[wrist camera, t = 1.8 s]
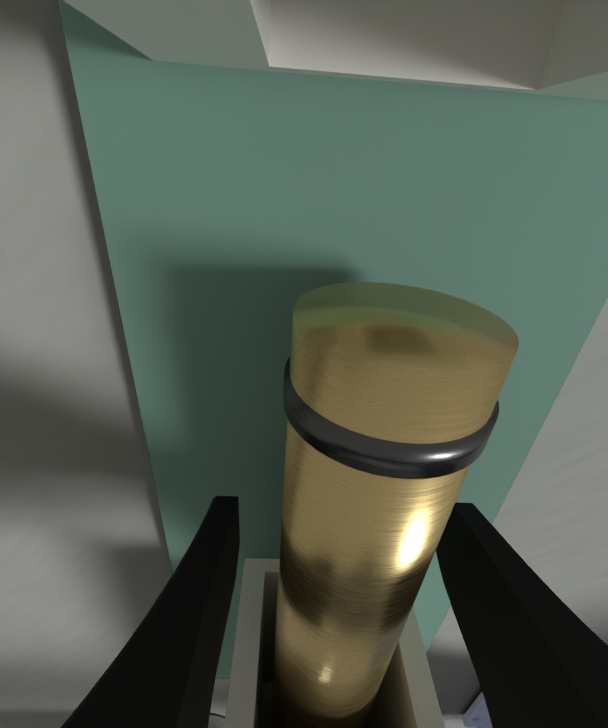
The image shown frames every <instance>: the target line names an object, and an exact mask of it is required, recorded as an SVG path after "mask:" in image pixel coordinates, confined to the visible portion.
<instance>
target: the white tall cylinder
mask: <svg viewBox="0 0 608 728" xmlns="http://www.w3.org/2000/svg"><path fill="white" fill-rule="evenodd" d="M224 724H225V718H224V717H221V716H217V715H212V714H210V716H209V723H208V728H224Z"/></svg>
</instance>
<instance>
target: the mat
mask: <svg viewBox="0 0 608 728" xmlns="http://www.w3.org/2000/svg"><path fill="white" fill-rule="evenodd" d="M57 2H58V7H59V12H60V17H61V22H62V27H63V32H64V37H65V42H66V47H67V52H68V57H69V61H70V66H71V71H72V76H73V81H74V86H75V91H76V96H77V101H78V106H79V111H80V116H81V121H82V126H83V131H84V136H85V141H86V146H87V151H88V156H89V161H90V165H91V170H92V175H93V180H94V185H95V190H96V195H97V200H98V205H99V210H100V215H101V220H102V225H103V230H104V235H105V240H106V245H107V250H108V255H109V260H110V265H111V270H112V274H113V279H114V284H115V289H116V294H117V299H118V304H119V309H120V314H121V319H122V324H123V329H124V334H125V339H126V344H127V349H128V354H129V359H130V364H131V369H132V374H133V378H134V383H135V388H136V393H137V398H138V403H139V408H140V413H141V418H142V423H143V428H144V433H145V438H146V443H147V448H148V453H149V458H150V463H151V468H152V473H153V478H154V482H155V487H156V492H157V497H158V502H159V507H160V512H161V517H162V522H163V527H164V532H165V537H166V542H167V547H168V552H169V557H170V562H171V567H172V572H173V573H174V572H175V570H176V568H177V567H178V565H179V563H180V561H181V560H182V558H183V556H184V555H185V553H186V551H187V549H188V548H189V546H190V544H191V542H192V541H193V539H194V537H195V535H196V533H197V531H198V529H199V527H200V525H201V523H202V521H203V519H204V517H205V515H206V513H207V511H208V509H209V507H210V504H211V502H212V499H213V498H214V497H216V496H238V500H239V527H240V546H239V555H238V564H237V572H236V580H235V585H234V590H233V595H232V600H231V605H230V610H229V615H228V619H227V624H226V629H225V634H224V639H223V643H222V648H221V653H220V658H219V663H218V667H217V672H216V677H215V679H230V675H231V667H232V659H233V651H234V643H235V635H236V627H237V619H238V611H239V603H240V595H241V587H242V579H243V571H244V563H245V558H260V559H280V541H281V523H282V504H283V486H284V467H285V449H286V430H287V416H286V414H285V410H284V407H283V386H284V369H285V364H286V362H287V360H288V358H289V357H290V355H291V338H292V319H293V307H294V304H295V302H296V300H297V299H298V298H299V297H300V296H301V295H303V294H304V293H306V292H308V291H310V290H312V289H315V288H318V287H322V286H326V285H332V284H338V283H349V282H379V283H391V284H400V285H407V286H413V287H418V288H424V289H428V290H432V291H437V292H440V293H444V294H448V295H451V296H454V297H457V298H460V299H463V300H466V301H468V302H471V303H473V304H475V305H478V306H480V307H482V308H484V309H486V310H488V311H490V312H492V313H493V314H495V315H497V316H498V317H500V318H501V319H502V320H504V321H505V322H506V323H507V324H508V325H510V326H511V328H512V329H513V330H514V331H515V332H516V334H517V337H518V339H519V347H518V351H517V353H516V356H515V358H514V361H513V363H512V365H511V368H510V370H509V373H508V375H507V378H506V380H505V383H504V385H503V387H502V390H501V392H500V395H499V397H498V401H499V414H498V418H497V421H496V423H495V425H494V428H493V430H492V433H491V435H490V437H489V440H488V442H487V444H486V447H485V449H484V450H483V452H482V454H481V455H480V456H479V457H478V458H477V459H476V460H475V461H474V462H473V463H472V464H471V465H470V468H469V470H468V473H467V475H466V478H465V480H464V482H463V485H462V487H461V490H460V492H459V495H458V497H457V499H456V502H458V503H473V504H474V505H475V506H476V507H477V509H478V510H479V511H480V512H481V513H482V514H483V515H484V516H485V518H486V519H487V520H488V521H489V522H490V523H491V524H492V523H493V521H494V519H495V517H496V515H497V513H498V511H499V509H500V507H501V505H502V503H503V502H504V500H505V498H506V496H507V494H508V492H509V490H510V488H511V486H512V484H513V482H514V480H515V478H516V476H517V474H518V472H519V470H520V468H521V466H522V464H523V462H524V460H525V458H526V456H527V454H528V452H529V450H530V448H531V446H532V445H533V443H534V441H535V439H536V437H537V435H538V433H539V431H540V429H541V427H542V425H543V423H544V421H545V419H546V417H547V415H548V413H549V411H550V409H551V407H552V405H553V403H554V401H555V399H556V397H557V395H558V393H559V391H560V389H561V388H562V386H563V384H564V382H565V380H566V378H567V376H568V374H569V372H570V370H571V368H572V366H573V364H574V362H575V360H576V358H577V356H578V354H579V352H580V350H581V348H582V346H583V344H584V342H585V340H586V338H587V336H588V334H589V333H590V331H591V329H592V327H593V325H594V323H595V321H596V319H597V317H598V315H599V313H600V311H601V309H602V307H603V305H604V303H605V301H606V299H607V297H608V101H604V100H593V99H582V98H570V97H559V96H547V95H536V94H525V93H513V92H502V91H491V90H479V89H468V88H457V87H445V86H434V85H423V84H411V83H400V82H388V81H377V80H366V79H354V78H343V77H332V76H320V75H309V74H298V73H286V72H275V71H264V70H252V69H241V68H229V67H218V66H207V65H195V64H184V63H173V62H161V61H153V60H152V59H150V58H149V57H147V56H146V55H144V54H143V53H141V52H140V51H138V50H137V49H135V48H134V47H132V46H131V45H129V44H128V43H126V42H125V41H123V40H122V39H120V38H119V37H117V36H116V35H114V34H113V33H111V32H110V31H108V30H107V29H105V28H104V27H102V26H101V25H99V24H98V23H96V22H95V21H93V20H92V19H90V18H89V17H87V16H86V15H84V14H83V13H81V12H80V11H78V10H77V9H75V8H74V7H72V6H71V5H69V4H68V3H66V2H65V1H63V0H57ZM450 606H451V603H450V600H449V597H448V594H447V591H446V589H445V586H444V583H443V579H442V575H441V571H440V567H439V563H438V558H437V554H436V551H435V553H434V556H433V558H432V560H431V563H430V565H429V568H428V570H427V573H426V575H425V577H424V580H423V582H422V585H421V587H420V590H419V592H418V595H417V597H416V599H415V602H414V604H413V607H414V611H415V614H416V618H417V622H418V626H419V630H420V634H421V637H422V641H423V645H424V649H425V653H427V651H428V649H429V647H430V645H431V643H432V641H433V639H434V637H435V635H436V633H437V631H438V629H439V627H440V625H441V623H442V621H443V619H444V617H445V615H446V614H447V612H448V610H449V608H450Z"/></svg>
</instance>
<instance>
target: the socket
mask: <svg viewBox="0 0 608 728" xmlns="http://www.w3.org/2000/svg"><path fill="white" fill-rule="evenodd" d="M63 1H65V2H66V3H68V4H69V5H71V6H72V7H74V8H75V9H77V10H78V11H80V12H81V13H83V14H84V15H86V16H87V17H89V18H90V19H92V20H93V21H95V22H96V23H98V24H99V25H101V26H102V27H104V28H105V29H107V30H108V31H110V32H111V33H113V34H114V35H116V36H117V37H119V38H120V39H122V40H123V41H125V42H126V43H128V44H129V45H131V46H132V47H134V48H135V49H137V50H138V51H140V52H141V53H143V54H144V55H146V56H147V57H149V58H150V59H152V60H153V61H161V62H173V63H184V64H195V65H207V66H218V67H229V68H241V69H252V70H264V71H275V72H286V73H298V74H309V75H320V76H332V77H343V78H354V79H366V80H377V81H388V82H400V83H411V84H423V85H434V86H445V87H457V88H468V89H479V90H491V91H502V92H513V93H525V94H536V95H547V96H559V97H570V98H582V99H593V100H604V101H608V0H63Z"/></svg>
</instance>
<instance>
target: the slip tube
mask: <svg viewBox="0 0 608 728" xmlns="http://www.w3.org/2000/svg"><path fill="white" fill-rule="evenodd" d="M518 347H519V339H518V337H517V334H516V332H515V331H514V330H513V329H512V328H511V326H510V325H508V324H507V323H506V322H505V321H504V320H502V319H501V318H500V317H498V316H497V315H495V314H493V313H492V312H490V311H488V310H486V309H484V308H482V307H480V306H478V305H475V304H473V303H471V302H468V301H466V300H463V299H460V298H457V297H454V296H451V295H448V294H444V293H440V292H437V291H432V290H428V289H424V288H418V287H413V286H407V285H400V284H391V283H379V282H349V283H338V284H332V285H326V286H322V287H318V288H315V289H312V290H310V291H308V292H306V293H304V294H303V295H301V296H300V297H299V298H298V299H297V300H296V302H295V304H294V307H293V319H292V338H291V355H290V357H289V358H288V360H287V362H286V364H285V369H284V386H283V407H284V410H285V414H286V416H287V430H286V449H285V467H284V486H283V504H282V523H281V541H280V560H279V578H278V597H277V615H276V634H275V652H274V671H273V689H272V708H271V726H270V728H363V726H364V724H365V721H366V719H367V716H368V714H369V711H370V709H371V707H372V704H373V702H374V699H375V697H376V694H377V692H378V690H379V687H380V685H381V682H382V680H383V677H384V675H385V672H386V670H387V668H388V665H389V663H390V660H391V658H392V655H393V653H394V651H395V648H396V646H397V643H398V641H399V638H400V636H401V634H402V631H403V629H404V626H405V624H406V621H407V619H408V616H409V614H410V612H411V609H412V607H413V604H414V602H415V599H416V597H417V595H418V592H419V590H420V587H421V585H422V582H423V580H424V577H425V575H426V573H427V570H428V568H429V565H430V563H431V560H432V558H433V556H434V553H435V551H436V548H437V546H438V543H439V541H440V538H441V536H442V534H443V531H444V529H445V526H446V524H447V521H448V519H449V517H450V514H451V512H452V509H453V507H454V504H455V502H456V499H457V497H458V495H459V492H460V490H461V487H462V485H463V482H464V480H465V478H466V475H467V473H468V470H469V468H470V465H471V464H472V463H473V462H474V461H475V460H476V459H477V458H478V457H479V456H480V455H481V454H482V452H483V450H484V449H485V447H486V444H487V442H488V440H489V437H490V435H491V433H492V430H493V428H494V425H495V423H496V421H497V418H498V414H499V401H498V397H499V395H500V392H501V390H502V387H503V385H504V383H505V380H506V378H507V375H508V373H509V370H510V368H511V365H512V363H513V361H514V358H515V356H516V353H517V351H518Z"/></svg>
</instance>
